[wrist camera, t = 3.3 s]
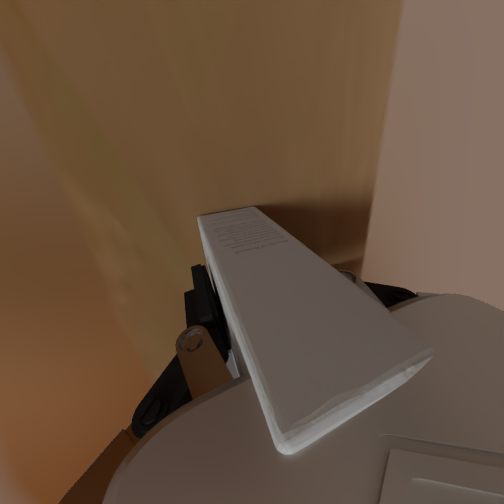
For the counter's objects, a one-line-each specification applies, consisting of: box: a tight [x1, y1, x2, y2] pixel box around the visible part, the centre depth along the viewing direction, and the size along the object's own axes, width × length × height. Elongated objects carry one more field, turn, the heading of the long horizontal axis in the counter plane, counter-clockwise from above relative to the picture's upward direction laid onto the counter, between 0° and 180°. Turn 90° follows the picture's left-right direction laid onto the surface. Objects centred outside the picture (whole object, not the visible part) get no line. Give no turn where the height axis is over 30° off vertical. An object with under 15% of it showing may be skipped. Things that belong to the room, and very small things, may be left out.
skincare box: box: [197, 207, 434, 455], centre depth 10 cm, size 6×4×12 cm
